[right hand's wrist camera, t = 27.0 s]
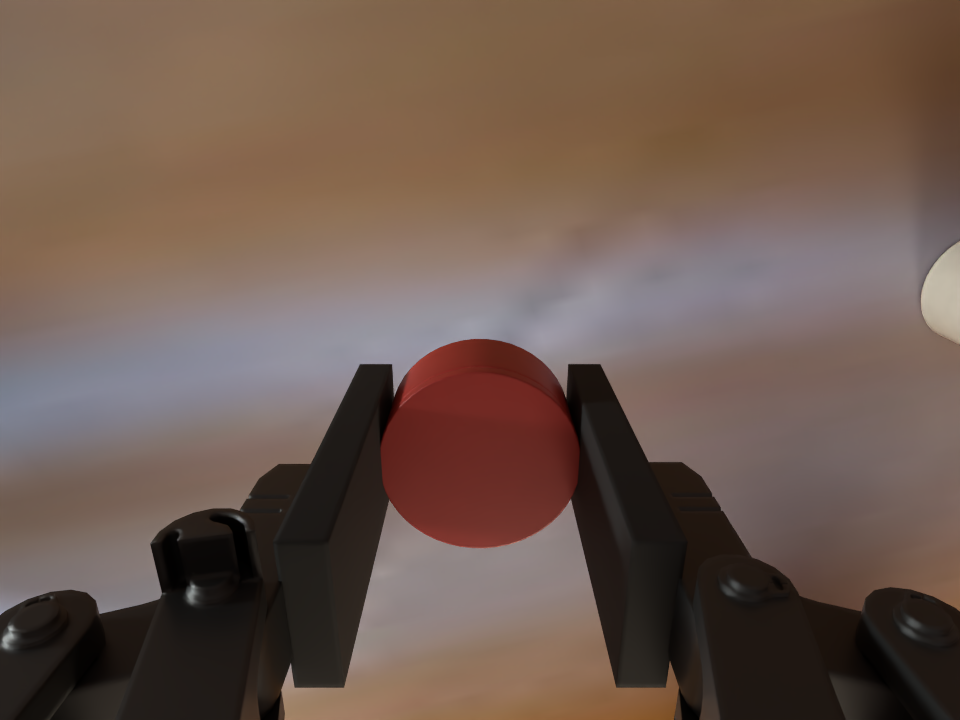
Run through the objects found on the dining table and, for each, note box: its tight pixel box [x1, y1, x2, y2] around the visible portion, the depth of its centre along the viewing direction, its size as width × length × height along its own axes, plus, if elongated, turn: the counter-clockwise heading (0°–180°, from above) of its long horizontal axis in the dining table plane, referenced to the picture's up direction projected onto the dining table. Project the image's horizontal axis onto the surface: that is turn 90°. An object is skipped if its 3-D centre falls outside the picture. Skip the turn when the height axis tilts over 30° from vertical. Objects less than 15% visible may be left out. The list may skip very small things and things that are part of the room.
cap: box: [380, 339, 580, 548], centre depth 14 cm, size 4×4×2 cm
